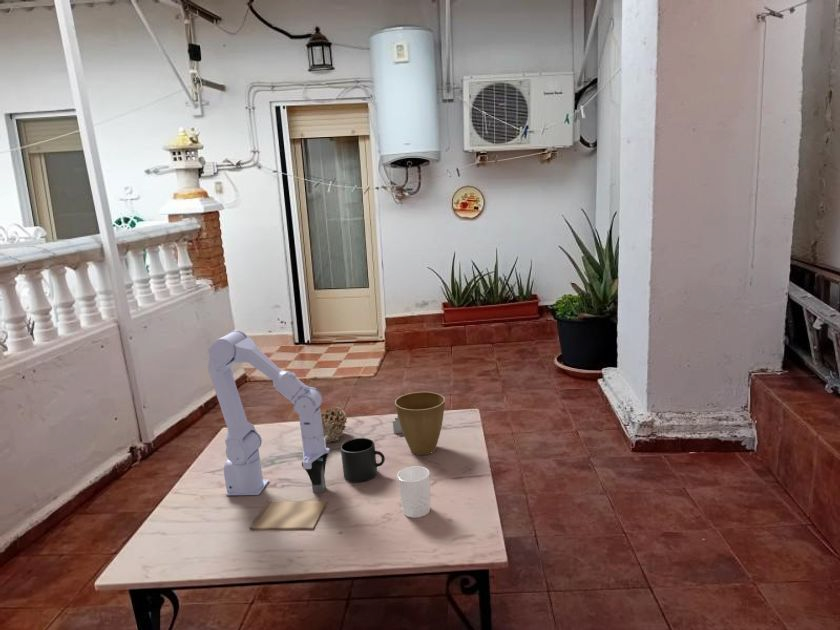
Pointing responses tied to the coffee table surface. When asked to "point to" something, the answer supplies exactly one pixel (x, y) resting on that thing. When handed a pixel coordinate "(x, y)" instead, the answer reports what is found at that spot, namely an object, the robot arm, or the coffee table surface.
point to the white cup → (414, 491)
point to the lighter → (397, 426)
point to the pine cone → (333, 423)
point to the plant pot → (421, 420)
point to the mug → (360, 459)
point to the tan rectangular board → (288, 515)
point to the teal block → (321, 487)
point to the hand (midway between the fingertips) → (318, 481)
